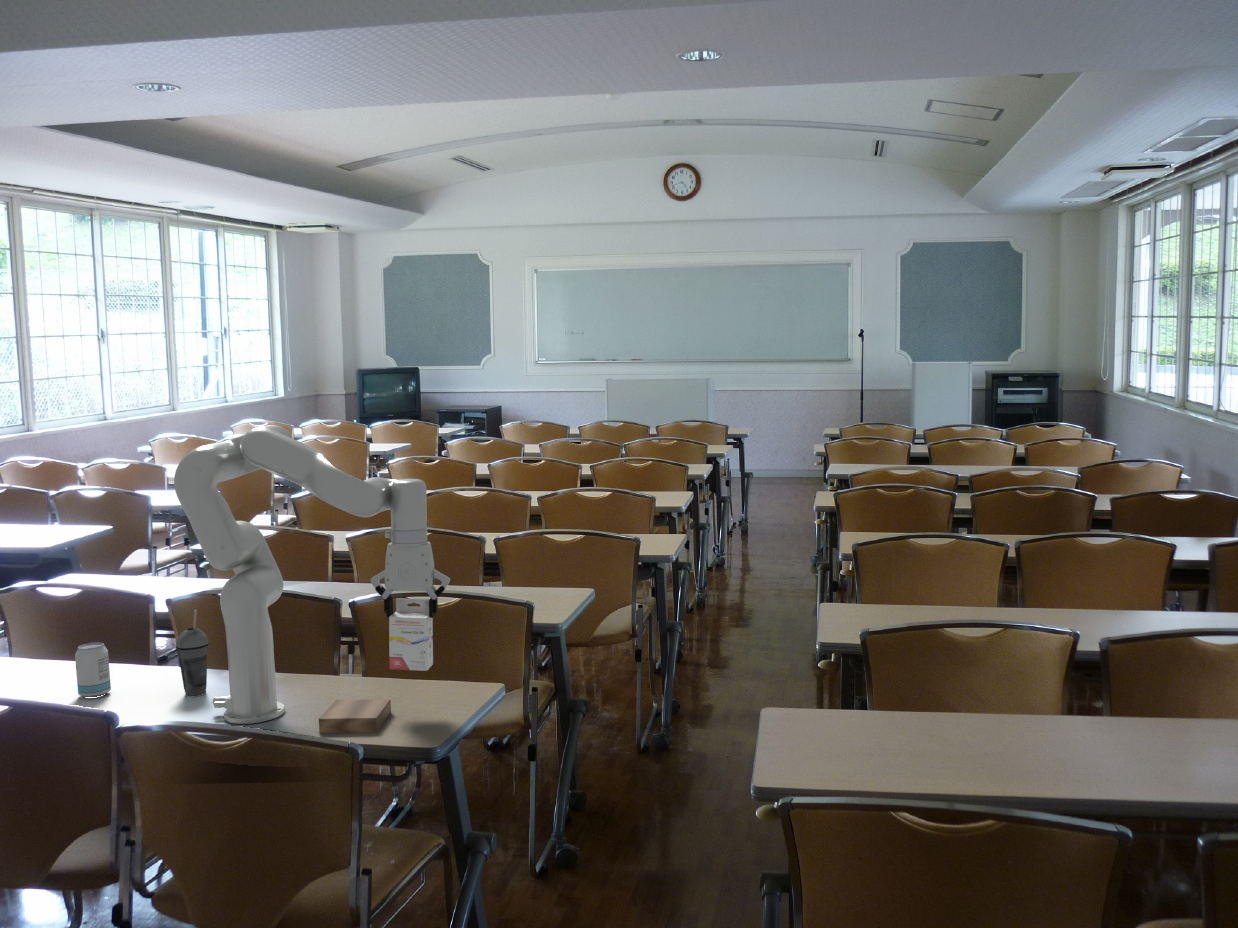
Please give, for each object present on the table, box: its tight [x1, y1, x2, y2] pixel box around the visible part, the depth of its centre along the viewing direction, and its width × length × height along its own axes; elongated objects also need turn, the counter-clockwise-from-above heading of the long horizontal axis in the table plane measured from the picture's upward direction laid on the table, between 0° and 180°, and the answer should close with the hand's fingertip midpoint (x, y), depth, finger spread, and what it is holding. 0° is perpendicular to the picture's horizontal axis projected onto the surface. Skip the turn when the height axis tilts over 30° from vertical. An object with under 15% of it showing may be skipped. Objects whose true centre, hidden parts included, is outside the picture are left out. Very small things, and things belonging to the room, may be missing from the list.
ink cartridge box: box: [388, 597, 434, 672], centre depth 228 cm, size 9×5×15 cm, turn 84°
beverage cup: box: [175, 608, 210, 697], centre depth 246 cm, size 7×7×20 cm
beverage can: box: [74, 642, 112, 698], centre depth 247 cm, size 7×7×12 cm
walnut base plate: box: [318, 698, 392, 734], centre depth 224 cm, size 12×12×3 cm
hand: (411, 615), depth 227 cm, fingers closed on ink cartridge box, 8 cm apart
